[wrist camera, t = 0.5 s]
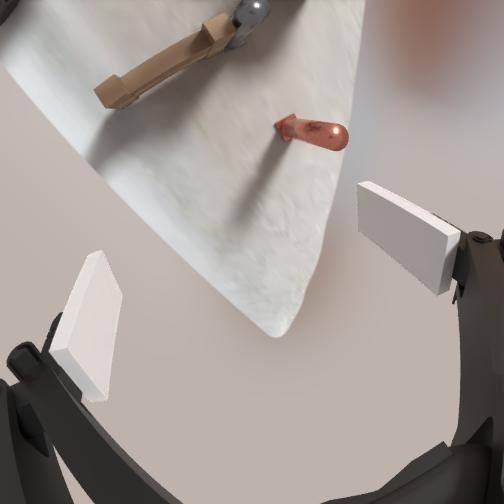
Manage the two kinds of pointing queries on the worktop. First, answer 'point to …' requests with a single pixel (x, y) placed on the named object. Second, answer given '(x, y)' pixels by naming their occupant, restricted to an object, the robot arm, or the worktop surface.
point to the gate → (166, 63)
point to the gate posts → (290, 127)
